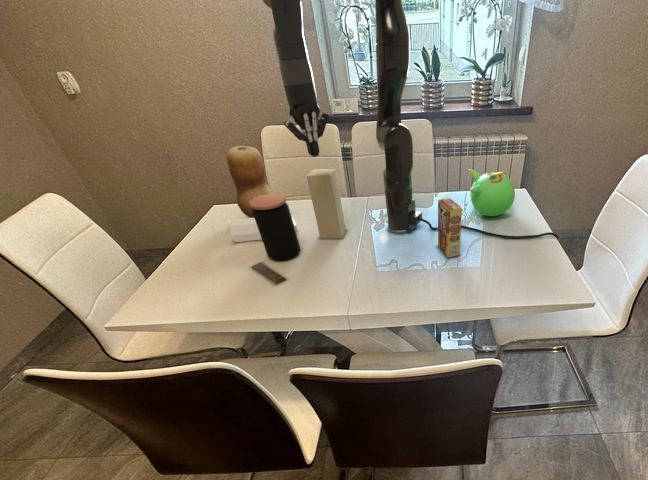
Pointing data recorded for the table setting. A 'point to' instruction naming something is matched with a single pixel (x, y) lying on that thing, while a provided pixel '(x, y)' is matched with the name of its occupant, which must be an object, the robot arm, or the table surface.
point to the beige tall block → (327, 202)
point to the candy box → (449, 227)
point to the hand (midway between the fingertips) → (314, 155)
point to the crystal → (246, 229)
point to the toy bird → (491, 193)
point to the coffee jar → (275, 226)
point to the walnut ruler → (268, 273)
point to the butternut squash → (247, 176)
